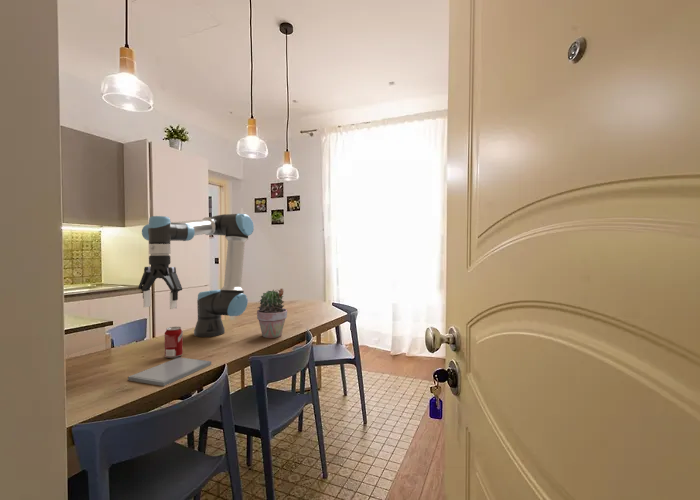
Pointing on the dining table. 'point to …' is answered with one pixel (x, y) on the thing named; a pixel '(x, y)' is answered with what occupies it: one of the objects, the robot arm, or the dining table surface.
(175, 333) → the soda can
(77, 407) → the dining table surface
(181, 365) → the slate board
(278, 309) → the potted plant
